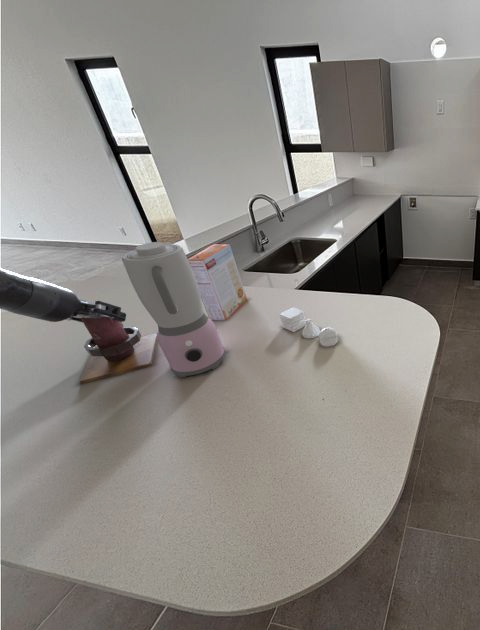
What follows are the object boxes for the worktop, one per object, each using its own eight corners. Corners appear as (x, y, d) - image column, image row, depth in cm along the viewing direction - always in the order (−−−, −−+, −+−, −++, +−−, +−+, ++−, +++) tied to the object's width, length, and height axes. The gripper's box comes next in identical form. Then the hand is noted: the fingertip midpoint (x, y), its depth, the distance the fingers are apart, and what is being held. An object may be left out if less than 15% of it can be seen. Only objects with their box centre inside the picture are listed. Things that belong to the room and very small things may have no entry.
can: (124, 362, 85) (97, 315, 78) (99, 362, 85) (70, 315, 78) (141, 348, 90) (117, 302, 83) (118, 348, 90) (92, 303, 83)
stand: (82, 386, 79) (58, 352, 74) (98, 351, 91) (79, 320, 86) (152, 367, 85) (135, 335, 80) (159, 337, 97) (144, 307, 92)
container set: (282, 329, 101) (278, 313, 98) (296, 321, 105) (293, 306, 102) (329, 351, 91) (326, 334, 89) (342, 341, 95) (340, 325, 92)
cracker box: (231, 301, 117) (212, 243, 106) (248, 301, 117) (231, 243, 106) (208, 321, 105) (184, 259, 94) (227, 322, 104) (204, 259, 94)
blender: (173, 359, 88) (116, 242, 72) (223, 344, 94) (182, 233, 78) (174, 394, 77) (107, 265, 61) (231, 375, 83) (185, 253, 66)
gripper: (78, 281, 69) (138, 303, 85) (5, 283, 68) (79, 305, 84) (71, 315, 67) (133, 331, 83) (-5, 318, 66) (73, 334, 82)
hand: (106, 318), depth 83 cm, fingers open, 8 cm apart
